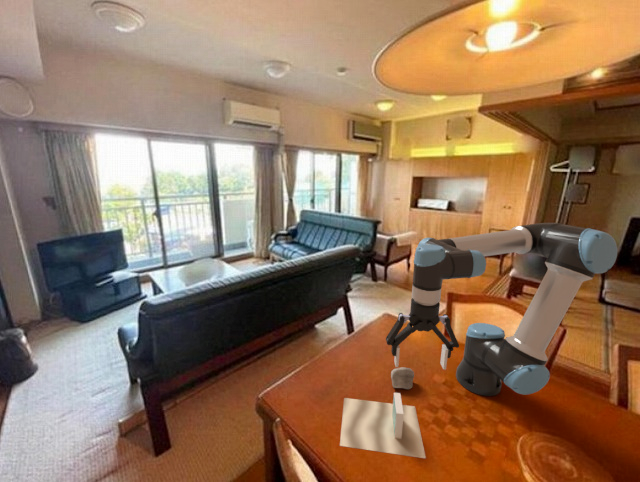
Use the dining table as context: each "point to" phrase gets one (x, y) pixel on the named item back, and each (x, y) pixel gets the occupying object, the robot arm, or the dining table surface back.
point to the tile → (397, 415)
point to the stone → (402, 377)
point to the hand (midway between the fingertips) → (419, 365)
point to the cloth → (380, 428)
